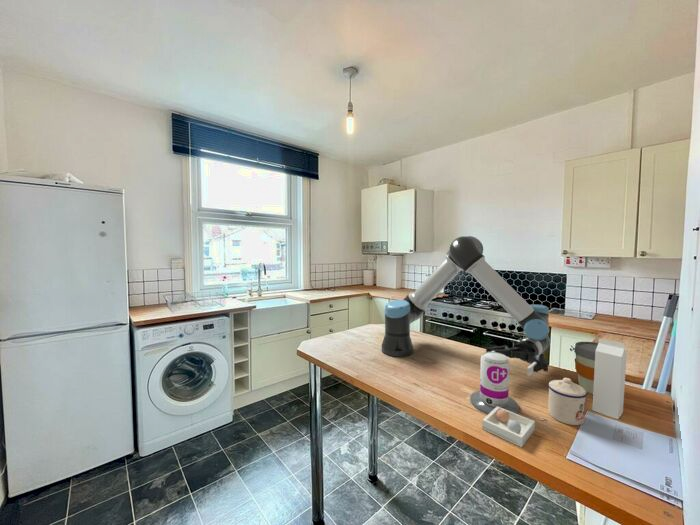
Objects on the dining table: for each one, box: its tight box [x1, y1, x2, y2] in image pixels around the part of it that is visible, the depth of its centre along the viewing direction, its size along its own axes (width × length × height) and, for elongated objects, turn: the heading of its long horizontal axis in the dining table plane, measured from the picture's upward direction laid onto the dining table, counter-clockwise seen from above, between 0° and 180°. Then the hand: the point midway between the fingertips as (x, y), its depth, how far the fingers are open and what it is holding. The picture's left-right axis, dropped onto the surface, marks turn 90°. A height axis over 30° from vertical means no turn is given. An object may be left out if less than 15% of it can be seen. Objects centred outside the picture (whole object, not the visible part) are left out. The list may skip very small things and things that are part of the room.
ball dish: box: [481, 406, 536, 448], centre depth 81 cm, size 10×10×3 cm
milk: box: [592, 338, 628, 420], centre depth 88 cm, size 6×6×22 cm
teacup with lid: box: [547, 377, 588, 426], centre depth 87 cm, size 12×9×12 cm
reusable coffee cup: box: [573, 341, 599, 395], centre depth 101 cm, size 12×13×15 cm
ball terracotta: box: [497, 410, 509, 422], centre depth 83 cm, size 3×3×3 cm
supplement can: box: [479, 351, 510, 407], centre depth 93 cm, size 8×8×15 cm
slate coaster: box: [469, 390, 520, 415], centre depth 94 cm, size 14×14×1 cm
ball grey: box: [508, 420, 521, 434], centre depth 78 cm, size 3×3×3 cm
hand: (506, 365), depth 99 cm, fingers open, 13 cm apart
